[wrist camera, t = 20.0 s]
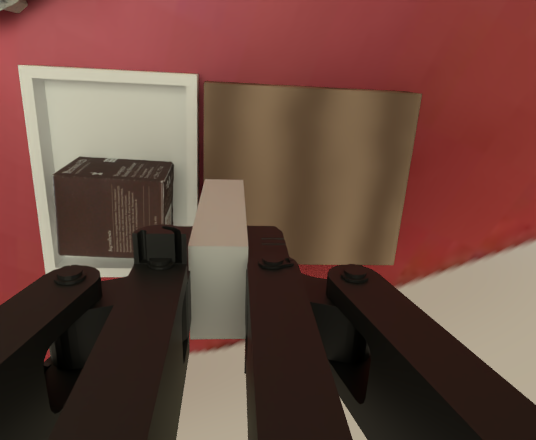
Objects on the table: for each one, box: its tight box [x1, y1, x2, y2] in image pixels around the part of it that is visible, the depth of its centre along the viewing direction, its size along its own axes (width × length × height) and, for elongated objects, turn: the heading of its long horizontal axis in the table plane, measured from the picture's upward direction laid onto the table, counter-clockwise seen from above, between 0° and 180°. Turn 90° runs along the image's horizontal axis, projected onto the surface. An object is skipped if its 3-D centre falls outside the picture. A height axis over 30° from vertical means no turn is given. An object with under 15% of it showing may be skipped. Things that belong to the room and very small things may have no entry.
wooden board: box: [204, 81, 422, 265], centre depth 35 cm, size 16×14×3 cm
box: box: [52, 156, 174, 258], centre depth 32 cm, size 6×6×7 cm
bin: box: [18, 65, 199, 277], centre depth 34 cm, size 12×16×2 cm
